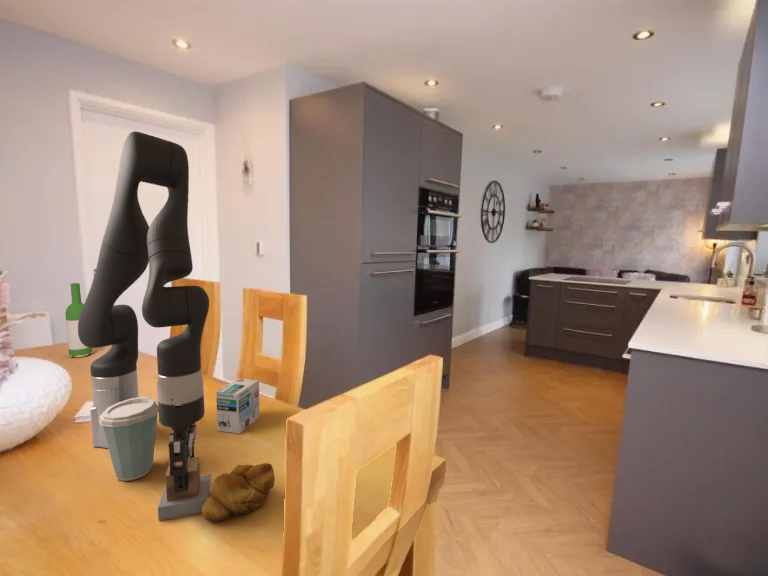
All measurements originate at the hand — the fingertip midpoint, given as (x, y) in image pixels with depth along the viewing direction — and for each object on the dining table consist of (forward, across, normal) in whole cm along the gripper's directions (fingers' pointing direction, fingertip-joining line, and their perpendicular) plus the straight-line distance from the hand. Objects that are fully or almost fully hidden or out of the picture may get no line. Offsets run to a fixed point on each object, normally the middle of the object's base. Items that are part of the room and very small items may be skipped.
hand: (185, 476), depth 75 cm
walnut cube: (+3, 0, 0) cm, 3 cm away
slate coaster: (+5, 0, 0) cm, 5 cm away
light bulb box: (+5, -31, +9) cm, 33 cm away
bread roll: (+6, +4, +9) cm, 11 cm away
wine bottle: (+5, -114, -54) cm, 126 cm away
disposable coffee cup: (+5, -14, -12) cm, 19 cm away
